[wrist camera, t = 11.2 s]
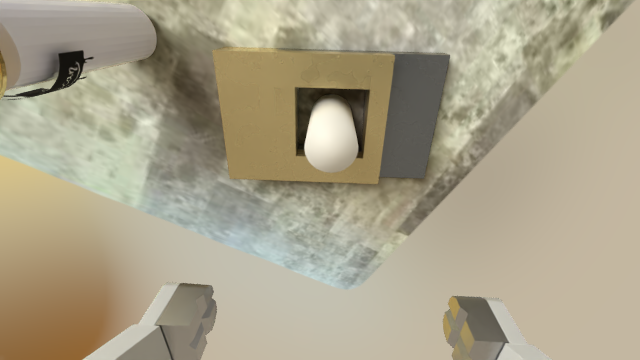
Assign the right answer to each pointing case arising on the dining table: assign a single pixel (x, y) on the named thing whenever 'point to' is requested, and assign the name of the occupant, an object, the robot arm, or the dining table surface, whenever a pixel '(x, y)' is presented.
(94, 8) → the perfume bottle
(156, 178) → the dining table surface
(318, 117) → the pin
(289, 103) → the brass square frame
